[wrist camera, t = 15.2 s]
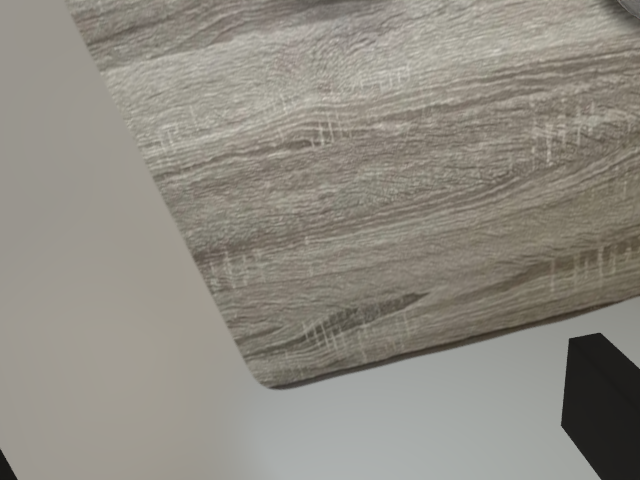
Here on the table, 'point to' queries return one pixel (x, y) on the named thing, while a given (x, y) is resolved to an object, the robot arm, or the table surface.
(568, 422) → the robot arm
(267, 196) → the table surface
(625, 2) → the flying saucer
